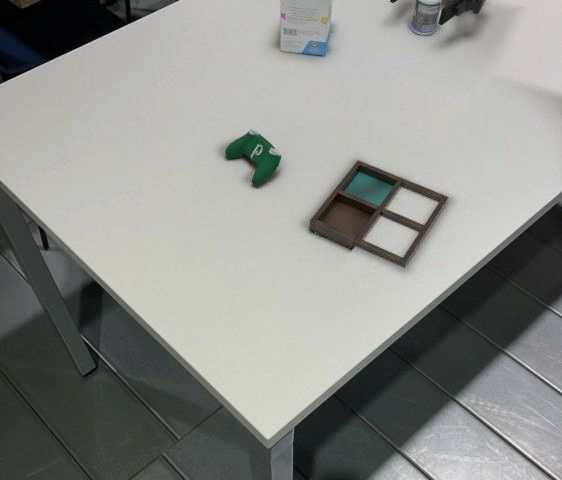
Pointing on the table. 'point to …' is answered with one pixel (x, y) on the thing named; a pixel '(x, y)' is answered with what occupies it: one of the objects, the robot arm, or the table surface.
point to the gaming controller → (256, 154)
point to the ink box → (305, 26)
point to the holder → (369, 210)
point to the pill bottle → (425, 16)
